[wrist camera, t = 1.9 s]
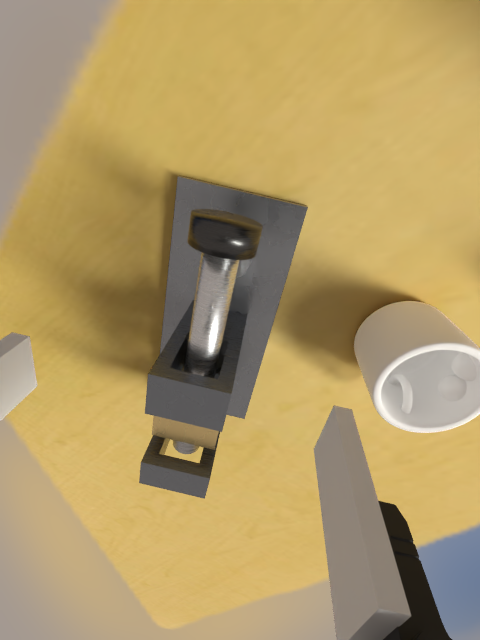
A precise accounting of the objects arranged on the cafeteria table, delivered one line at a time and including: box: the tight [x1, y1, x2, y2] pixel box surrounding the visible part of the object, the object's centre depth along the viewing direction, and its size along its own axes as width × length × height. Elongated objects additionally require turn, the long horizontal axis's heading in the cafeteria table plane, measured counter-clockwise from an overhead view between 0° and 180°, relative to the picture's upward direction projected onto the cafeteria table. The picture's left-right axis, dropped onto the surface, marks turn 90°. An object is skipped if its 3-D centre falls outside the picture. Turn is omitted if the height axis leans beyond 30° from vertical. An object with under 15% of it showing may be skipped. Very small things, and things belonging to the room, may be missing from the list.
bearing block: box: [139, 176, 308, 499], centre depth 29 cm, size 27×12×14 cm, turn 168°
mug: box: [354, 301, 480, 433], centre depth 30 cm, size 12×10×9 cm
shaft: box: [173, 209, 263, 454], centre depth 27 cm, size 23×5×5 cm, turn 168°
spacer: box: [152, 366, 219, 450], centre depth 30 cm, size 4×6×6 cm
